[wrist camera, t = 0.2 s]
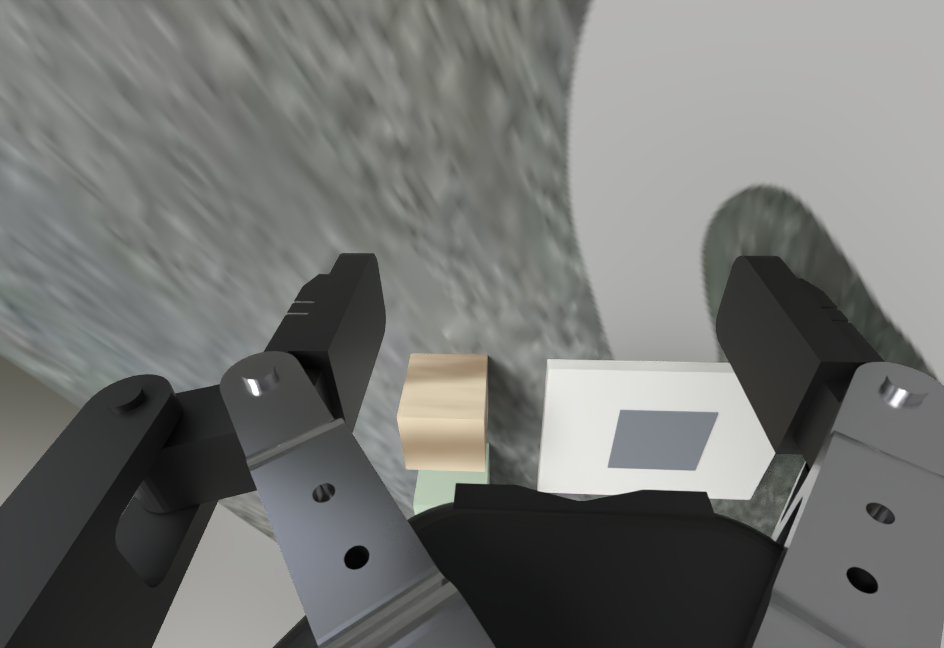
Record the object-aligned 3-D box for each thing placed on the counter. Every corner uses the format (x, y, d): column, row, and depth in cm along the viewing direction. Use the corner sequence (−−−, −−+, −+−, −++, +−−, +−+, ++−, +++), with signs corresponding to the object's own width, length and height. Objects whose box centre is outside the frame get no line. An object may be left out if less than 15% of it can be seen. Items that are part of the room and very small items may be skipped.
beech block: (411, 353, 37) (396, 417, 33) (487, 354, 37) (484, 419, 32) (418, 404, 41) (406, 469, 36) (488, 406, 40) (485, 471, 36)
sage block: (423, 440, 44) (413, 504, 39) (489, 442, 43) (486, 507, 39) (429, 478, 47) (419, 542, 42) (489, 481, 47) (487, 545, 42)
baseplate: (547, 359, 37) (548, 370, 36) (811, 364, 36) (819, 375, 35) (537, 482, 46) (537, 493, 45) (745, 489, 45) (750, 500, 44)
